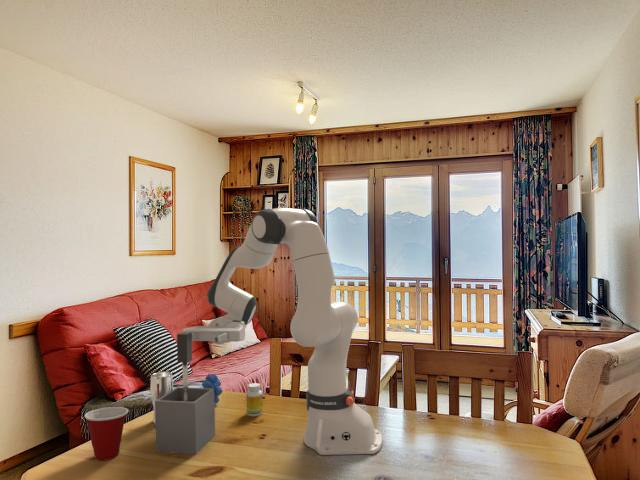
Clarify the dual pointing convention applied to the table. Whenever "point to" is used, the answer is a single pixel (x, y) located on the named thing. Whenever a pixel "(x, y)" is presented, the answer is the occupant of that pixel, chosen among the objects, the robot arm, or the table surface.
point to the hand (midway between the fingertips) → (202, 338)
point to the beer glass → (160, 386)
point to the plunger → (184, 358)
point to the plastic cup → (106, 431)
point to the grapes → (213, 386)
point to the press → (184, 421)
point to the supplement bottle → (254, 400)
